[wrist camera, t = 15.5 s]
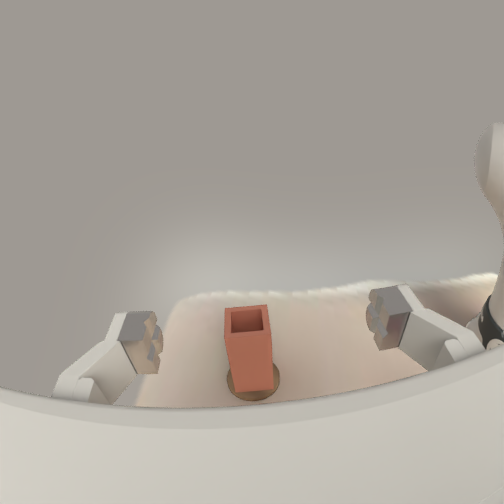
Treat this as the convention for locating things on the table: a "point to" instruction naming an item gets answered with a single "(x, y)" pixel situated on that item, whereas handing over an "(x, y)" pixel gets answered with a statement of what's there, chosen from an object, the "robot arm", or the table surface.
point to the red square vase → (249, 347)
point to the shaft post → (254, 394)
